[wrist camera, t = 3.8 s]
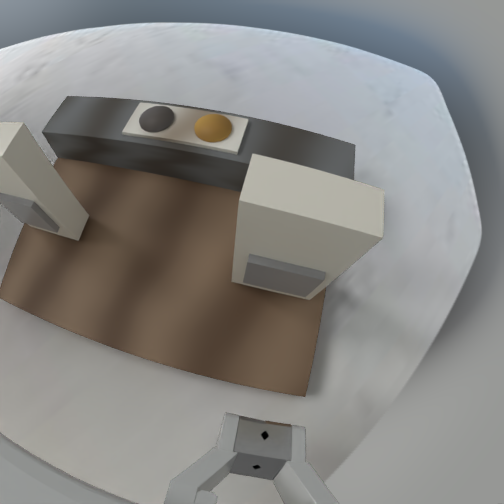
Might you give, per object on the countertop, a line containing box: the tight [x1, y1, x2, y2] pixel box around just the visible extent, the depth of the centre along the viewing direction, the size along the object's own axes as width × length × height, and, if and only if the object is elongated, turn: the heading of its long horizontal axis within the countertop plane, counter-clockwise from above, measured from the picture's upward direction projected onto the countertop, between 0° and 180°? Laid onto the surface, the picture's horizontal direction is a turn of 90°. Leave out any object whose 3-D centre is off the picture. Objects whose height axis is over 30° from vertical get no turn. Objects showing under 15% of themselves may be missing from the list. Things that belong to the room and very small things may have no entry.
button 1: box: [231, 154, 384, 300], centre depth 15 cm, size 5×2×10 cm, turn 77°
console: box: [0, 96, 355, 397], centre depth 20 cm, size 23×18×6 cm
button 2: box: [0, 122, 89, 241], centre depth 15 cm, size 5×2×10 cm, turn 77°
